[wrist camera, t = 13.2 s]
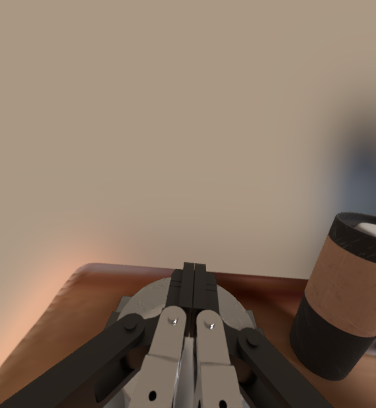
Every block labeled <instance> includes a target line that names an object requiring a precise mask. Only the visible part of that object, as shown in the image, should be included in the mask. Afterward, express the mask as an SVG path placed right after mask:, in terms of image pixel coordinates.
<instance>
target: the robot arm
mask: <svg viewBox="0 0 376 408" xmlns="http://www.w3.org/2000/svg"><path fill="white" fill-rule="evenodd" d="M190 320H191V323H190ZM189 329H190V338H193V351H192V368H193V408H243V404H242V399H241V395H242V397H243V398H244V400H245V401H246V403H247V404H248V405H249V407H250V408H334V407H333V406H332V405H331V404H330V403H329V402H328V401H327V400H326V399H325V398H324V397H323V396H322V395H321V394H320V393H319V392H318V391H317V390H316V389H315V388H314V387H313V386H312V385H311V384H310V383H309V382H308V381H307V380H306V379H305V378H304V377H303V376H302V375H301V374H300V373H299V372H298V371H297V370H296V368H295V367H294V366H293V365H292V364H291V363H290V362H289V361H288V360H287V359H286V358H285V357H284V356H283V355H282V354H281V353H280V352H279V351H278V350H277V349H276V348H275V347H274V346H273V345H272V344H271V343H270V342H269V341H268V340H267V339H266V338H265V337H264V336H263V335H262V334H261V333H260V332H259V331H257V330H255V329H253V328H249V327H246V328H243V329H241V330H240V331H239V330H237V329H235V328H232V327H230V326H229V325H227V324H226V323H225V322H224V321H223V320H222V318H221V316H220V312H219V302H218V292H217V282H216V278H215V276H214V274H213V273H209V272H206V265H205V264H197V263H195V270H194V263H188V262H184V268H183V270H181V269H175V271H174V272H173V273H172V275H171V280H170V285H169V290H168V294H167V299H166V304H165V308H164V310H163V311H162V312H161V313H160V314H159V315H157V316H155V317H152V318H148V319H144V318H143V317H142V316H141V315H139V314H136V313H130V314H127V315H125V316H123V317H122V318H121V319H119V320H118V321H116V322H115V323H114V324H112V325H111V326H109V327H108V328H107V329H105V330H104V331H102V332H101V333H100V334H98V335H97V336H95V337H94V338H93V339H91V340H90V341H88V342H87V343H86V344H84V345H83V346H81V347H80V348H79V349H77V350H76V351H74V352H73V353H72V354H70V355H69V356H67V357H66V358H65V359H63V360H62V361H60V362H59V363H58V364H56V365H55V366H53V367H52V368H51V369H49V370H48V371H46V372H45V373H44V374H42V375H41V376H39V377H38V378H37V379H35V380H34V381H32V382H31V383H30V384H28V385H27V386H25V387H24V388H23V389H21V390H20V391H18V392H17V393H16V394H14V395H13V396H11V397H10V398H9V399H7V400H6V401H4V402H3V403H2V404H0V408H103V407H104V406H105V405H106V404H107V403H108V402H109V401H110V400H111V399H112V398H113V397H114V396H115V395H116V394H117V393H118V392H119V391H120V390H121V389H122V388H123V387H124V386H125V385H126V384H127V383H128V382H129V381H130V380H131V379H132V378H133V377H134V376H135V375H136V374H137V373H138V372H139V371H140V373H139V376H138V379H137V382H136V386H135V389H134V392H133V395H132V398H131V401H130V404H129V407H128V408H174V406H175V399H176V392H177V386H178V379H179V373H180V366H181V360H182V354H183V350H184V346H185V337H189ZM240 394H241V395H240Z"/></svg>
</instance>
